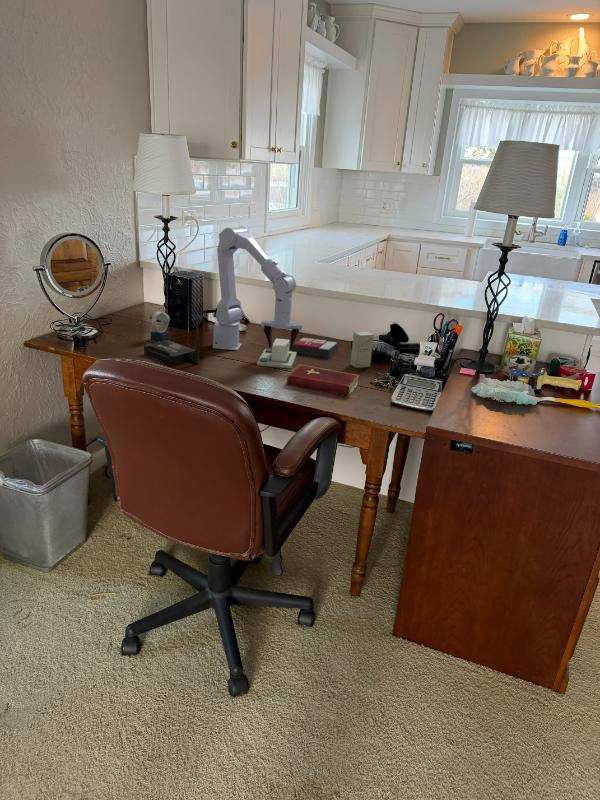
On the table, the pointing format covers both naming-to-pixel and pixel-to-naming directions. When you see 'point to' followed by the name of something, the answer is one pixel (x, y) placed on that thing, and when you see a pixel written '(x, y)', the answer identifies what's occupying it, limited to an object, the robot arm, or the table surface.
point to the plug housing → (280, 350)
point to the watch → (161, 334)
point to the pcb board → (267, 357)
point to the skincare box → (362, 349)
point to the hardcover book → (322, 380)
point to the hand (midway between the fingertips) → (280, 348)
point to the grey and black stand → (173, 351)
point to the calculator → (315, 347)
